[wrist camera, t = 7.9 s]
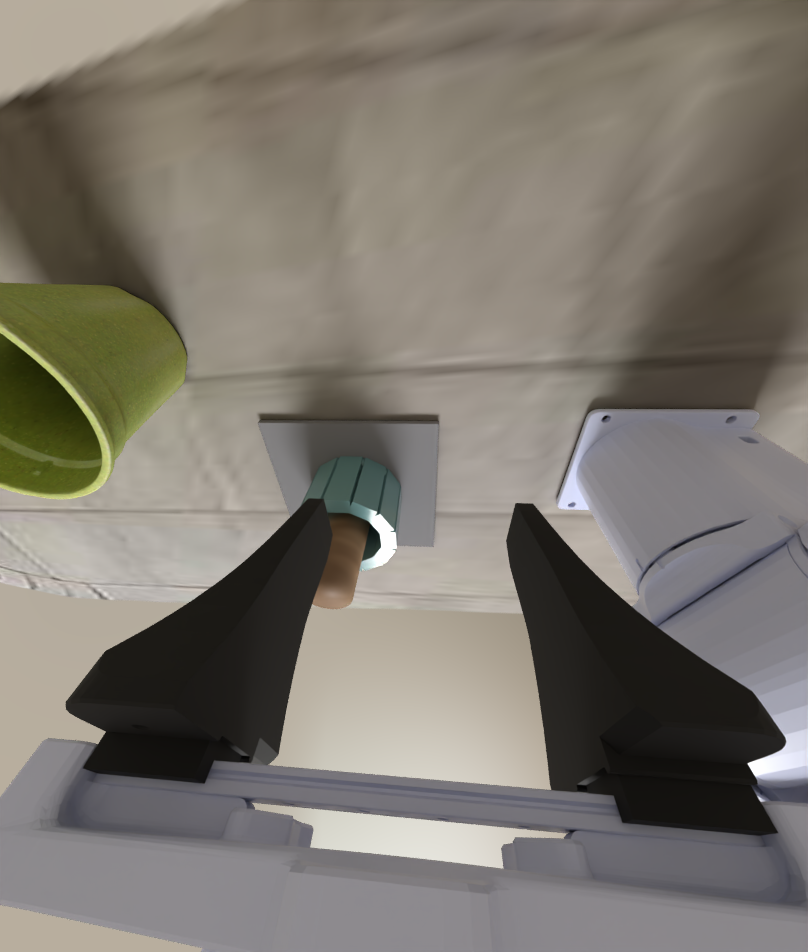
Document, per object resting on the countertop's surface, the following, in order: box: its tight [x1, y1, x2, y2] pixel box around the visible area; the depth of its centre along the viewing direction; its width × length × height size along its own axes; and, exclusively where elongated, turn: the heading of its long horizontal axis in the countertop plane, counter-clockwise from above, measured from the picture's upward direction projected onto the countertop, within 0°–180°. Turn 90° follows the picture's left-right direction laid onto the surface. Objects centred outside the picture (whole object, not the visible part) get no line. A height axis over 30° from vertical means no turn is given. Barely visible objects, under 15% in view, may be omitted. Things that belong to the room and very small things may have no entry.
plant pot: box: [0, 283, 187, 499], centre depth 15 cm, size 9×9×9 cm
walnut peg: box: [312, 512, 370, 609], centre depth 21 cm, size 3×3×8 cm
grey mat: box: [258, 420, 439, 547], centre depth 24 cm, size 12×12×1 cm
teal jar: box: [301, 456, 402, 571], centre depth 22 cm, size 7×7×5 cm
